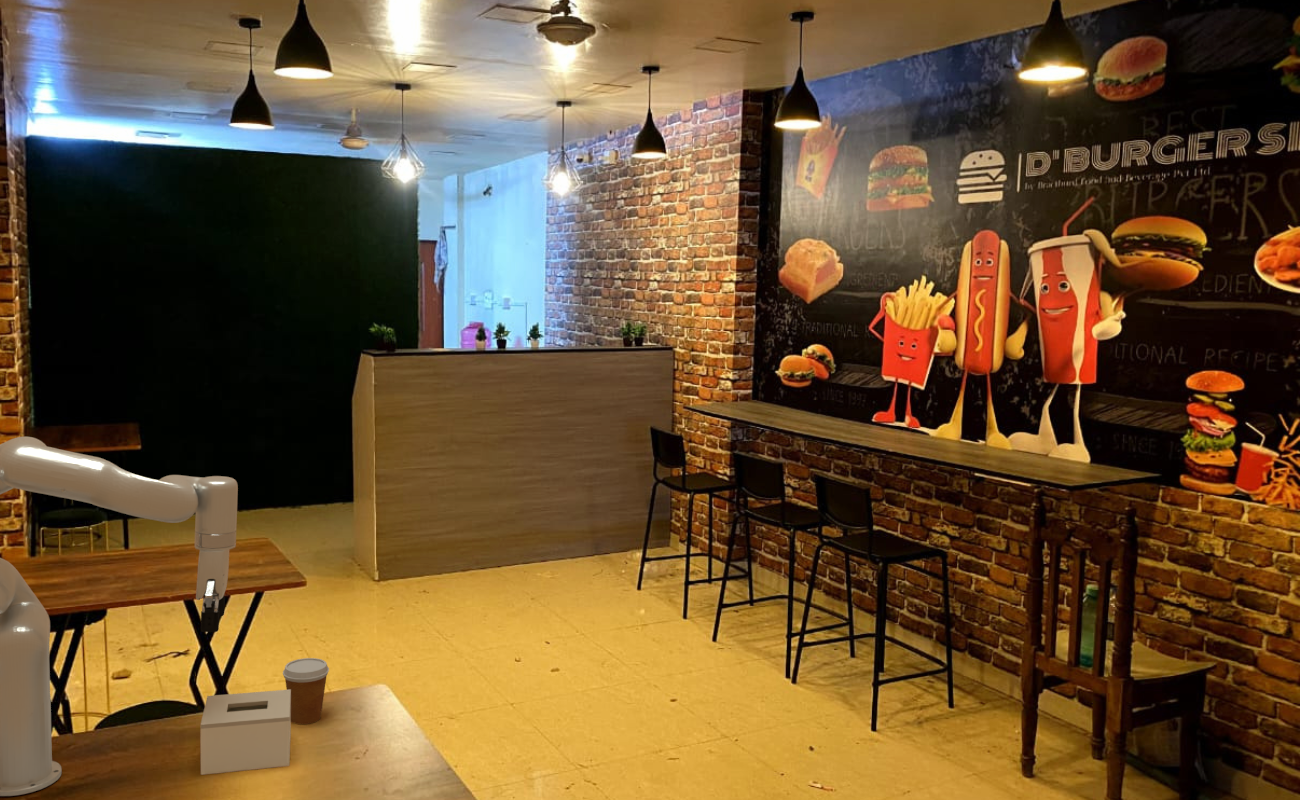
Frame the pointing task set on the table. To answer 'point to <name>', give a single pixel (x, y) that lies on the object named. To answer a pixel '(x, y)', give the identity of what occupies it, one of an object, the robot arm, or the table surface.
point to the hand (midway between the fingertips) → (212, 623)
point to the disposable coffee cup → (306, 688)
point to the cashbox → (246, 731)
